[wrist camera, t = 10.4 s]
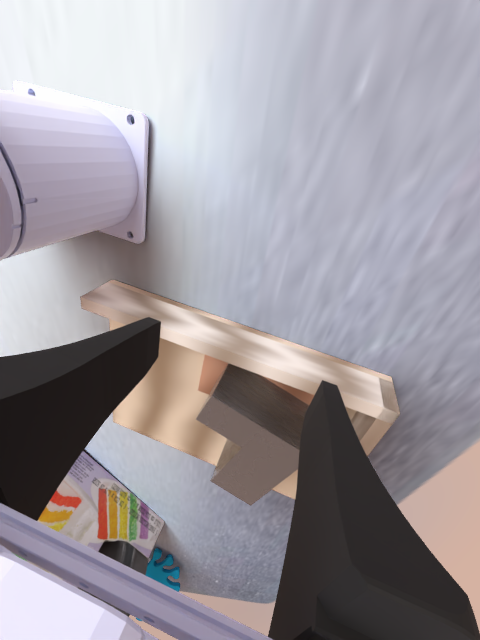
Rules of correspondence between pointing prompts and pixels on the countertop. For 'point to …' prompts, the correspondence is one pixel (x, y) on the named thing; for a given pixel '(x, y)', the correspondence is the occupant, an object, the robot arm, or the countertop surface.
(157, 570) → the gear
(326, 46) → the countertop surface
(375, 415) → the board
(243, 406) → the bracket
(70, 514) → the cake pan box
